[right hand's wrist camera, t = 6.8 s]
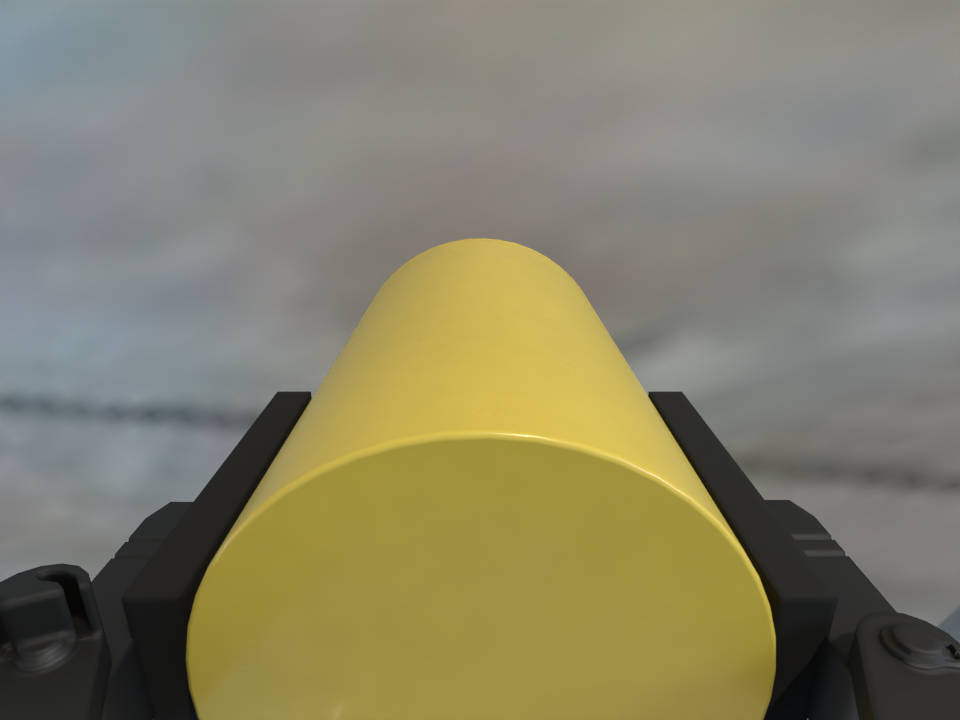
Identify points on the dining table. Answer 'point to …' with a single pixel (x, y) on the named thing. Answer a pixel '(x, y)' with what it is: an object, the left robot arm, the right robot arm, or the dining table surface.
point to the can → (480, 529)
